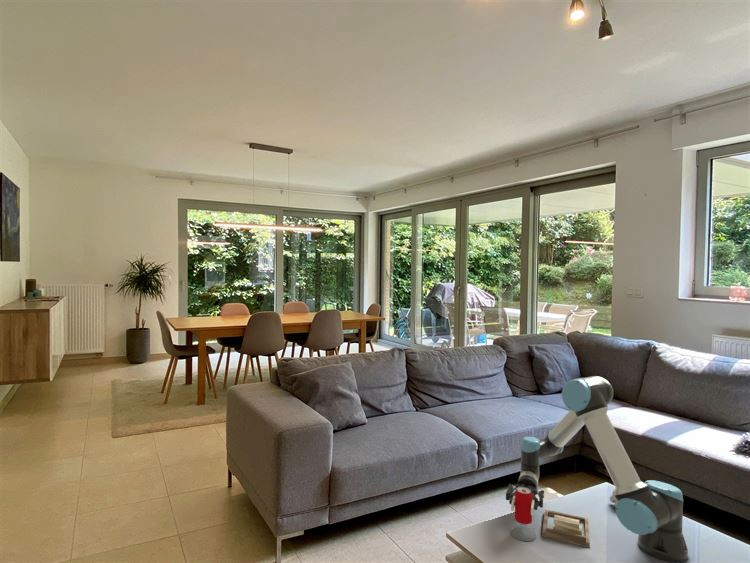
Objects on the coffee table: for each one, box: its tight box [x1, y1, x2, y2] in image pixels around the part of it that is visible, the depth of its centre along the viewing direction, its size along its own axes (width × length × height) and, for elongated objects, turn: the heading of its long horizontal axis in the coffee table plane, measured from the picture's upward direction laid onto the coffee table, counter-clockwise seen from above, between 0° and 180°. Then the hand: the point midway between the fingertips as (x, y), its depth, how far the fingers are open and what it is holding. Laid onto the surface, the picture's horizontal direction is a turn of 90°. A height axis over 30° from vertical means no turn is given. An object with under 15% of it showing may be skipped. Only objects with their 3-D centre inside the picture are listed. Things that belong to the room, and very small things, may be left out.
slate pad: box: [510, 526, 537, 543], centre depth 170 cm, size 9×9×1 cm
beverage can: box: [514, 487, 533, 526], centre depth 170 cm, size 6×6×12 cm
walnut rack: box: [541, 509, 591, 548], centre depth 174 cm, size 19×16×3 cm
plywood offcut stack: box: [552, 515, 583, 536], centre depth 170 cm, size 4×10×6 cm, turn 65°
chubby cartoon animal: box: [609, 488, 618, 509], centre depth 190 cm, size 7×12×8 cm, turn 4°
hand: (522, 509), depth 165 cm, fingers closed on beverage can, 6 cm apart
